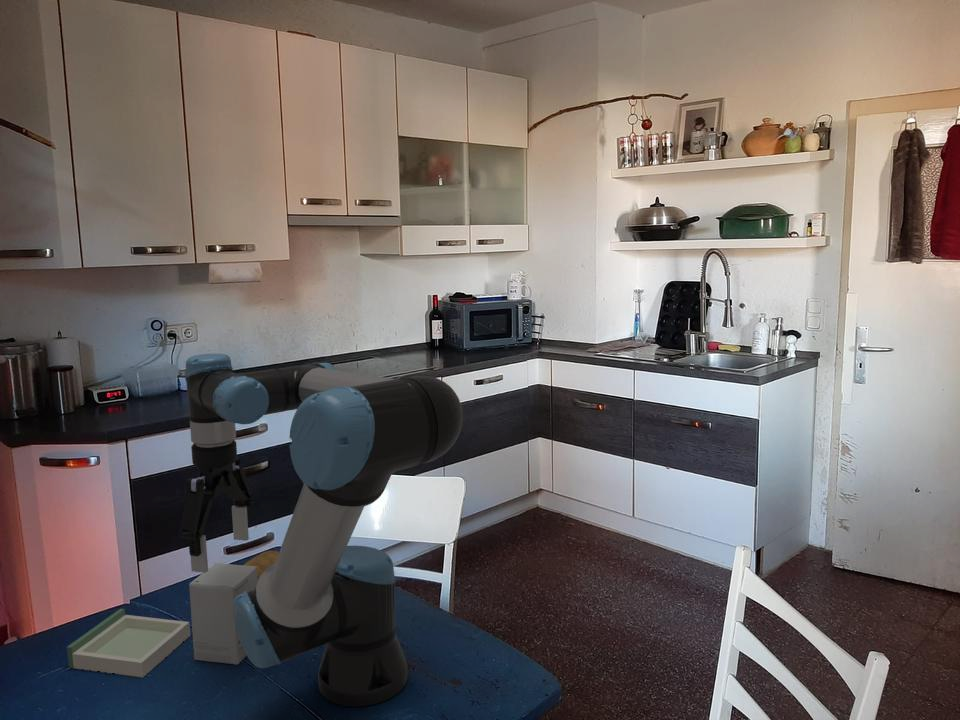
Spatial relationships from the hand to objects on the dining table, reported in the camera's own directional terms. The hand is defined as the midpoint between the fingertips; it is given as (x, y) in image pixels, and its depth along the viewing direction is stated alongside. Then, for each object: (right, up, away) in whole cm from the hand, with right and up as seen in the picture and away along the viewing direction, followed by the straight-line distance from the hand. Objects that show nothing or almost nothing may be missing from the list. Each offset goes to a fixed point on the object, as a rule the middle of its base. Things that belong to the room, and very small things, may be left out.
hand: (221, 554), depth 135 cm
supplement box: (0, -19, +3) cm, 19 cm away
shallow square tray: (-17, -19, +3) cm, 25 cm away
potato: (0, -15, +25) cm, 29 cm away
